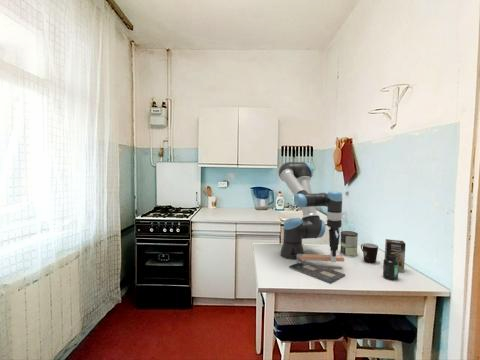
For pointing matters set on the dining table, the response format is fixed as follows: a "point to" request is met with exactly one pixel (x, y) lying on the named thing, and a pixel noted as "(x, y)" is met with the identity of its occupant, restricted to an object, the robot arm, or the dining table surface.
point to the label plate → (317, 271)
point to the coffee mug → (369, 252)
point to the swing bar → (318, 257)
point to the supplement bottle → (390, 267)
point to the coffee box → (396, 251)
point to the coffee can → (349, 243)
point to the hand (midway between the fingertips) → (333, 261)
